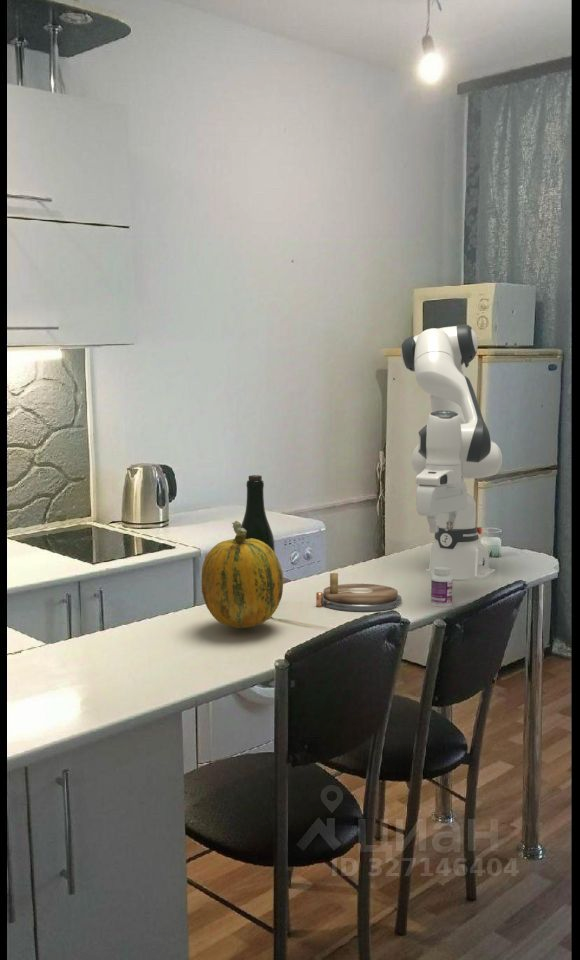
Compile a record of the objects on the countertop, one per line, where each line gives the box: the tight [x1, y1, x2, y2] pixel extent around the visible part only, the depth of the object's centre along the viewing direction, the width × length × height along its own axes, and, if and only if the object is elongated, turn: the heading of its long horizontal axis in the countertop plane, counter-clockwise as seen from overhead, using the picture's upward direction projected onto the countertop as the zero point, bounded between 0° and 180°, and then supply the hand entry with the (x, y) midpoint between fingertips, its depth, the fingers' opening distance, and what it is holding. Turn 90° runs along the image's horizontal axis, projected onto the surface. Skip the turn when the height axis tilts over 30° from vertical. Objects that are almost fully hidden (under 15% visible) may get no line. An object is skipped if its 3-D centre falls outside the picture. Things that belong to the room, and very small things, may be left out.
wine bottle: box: [241, 474, 276, 554], centre depth 235 cm, size 10×10×33 cm
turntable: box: [322, 572, 399, 605], centre depth 238 cm, size 19×19×6 cm
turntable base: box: [315, 591, 403, 613], centre depth 238 cm, size 21×21×4 cm
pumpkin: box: [200, 520, 284, 629], centre depth 214 cm, size 19×19×25 cm
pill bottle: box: [430, 567, 454, 608], centre depth 235 cm, size 5×5×10 cm
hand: (442, 530), depth 234 cm, fingers open, 7 cm apart
